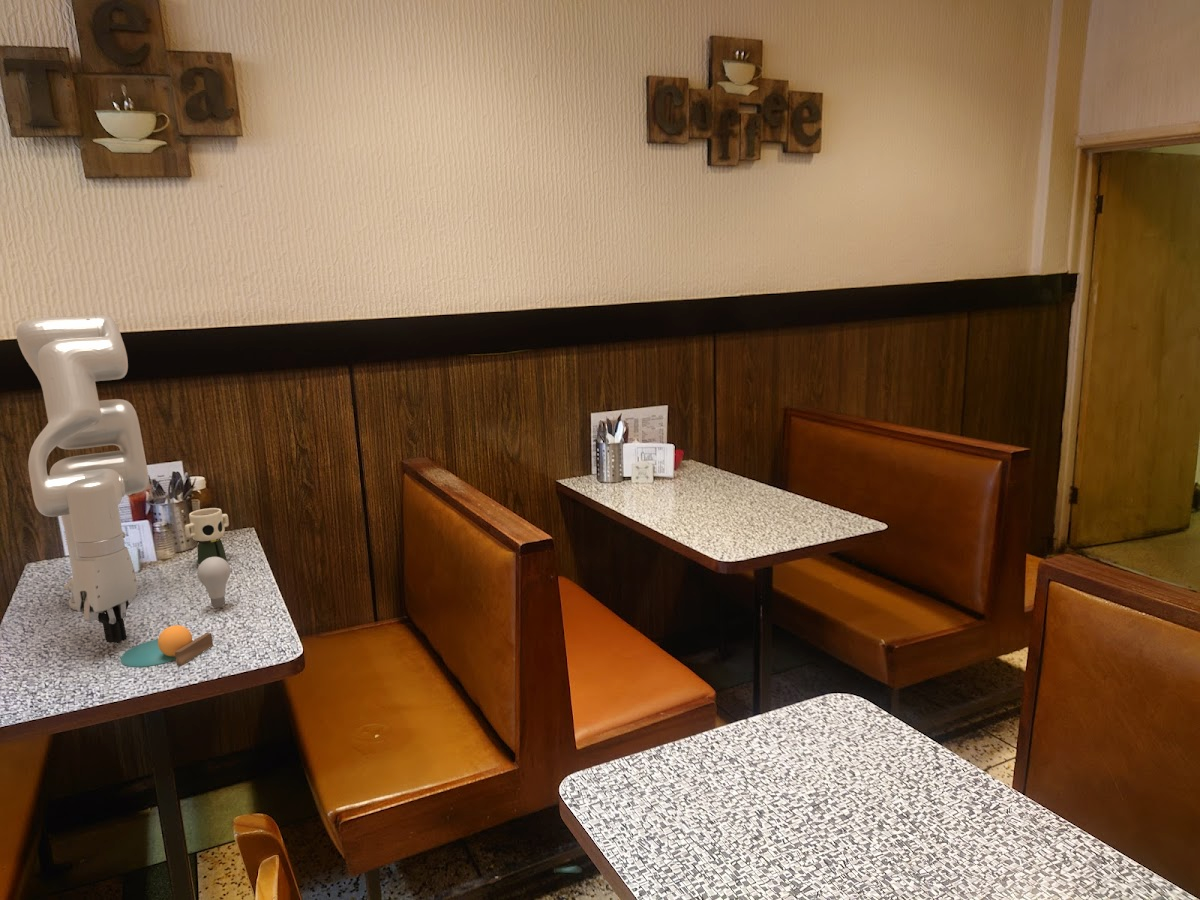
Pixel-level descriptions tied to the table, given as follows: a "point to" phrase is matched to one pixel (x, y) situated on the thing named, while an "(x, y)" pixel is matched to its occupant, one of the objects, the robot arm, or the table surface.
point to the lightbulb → (214, 579)
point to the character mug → (208, 532)
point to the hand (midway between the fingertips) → (116, 640)
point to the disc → (145, 655)
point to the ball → (173, 639)
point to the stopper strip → (193, 649)
